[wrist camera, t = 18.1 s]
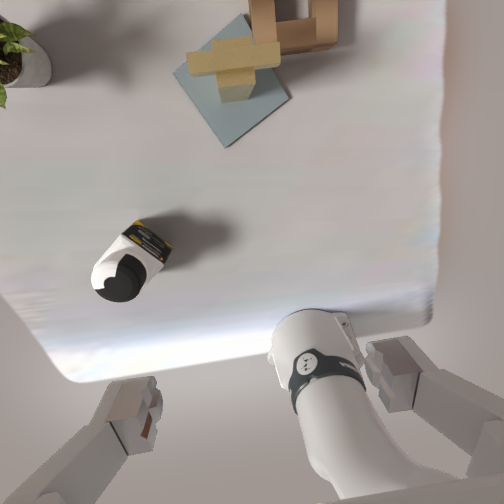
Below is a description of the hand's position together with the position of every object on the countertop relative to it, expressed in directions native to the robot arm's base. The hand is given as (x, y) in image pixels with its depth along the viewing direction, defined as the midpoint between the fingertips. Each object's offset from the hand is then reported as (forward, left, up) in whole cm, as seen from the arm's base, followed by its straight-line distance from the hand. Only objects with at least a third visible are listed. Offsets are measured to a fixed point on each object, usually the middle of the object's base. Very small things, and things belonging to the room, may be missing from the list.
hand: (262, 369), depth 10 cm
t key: (+12, -8, -34) cm, 36 cm away
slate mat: (+12, -8, -34) cm, 37 cm away
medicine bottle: (+2, +18, -34) cm, 39 cm away
